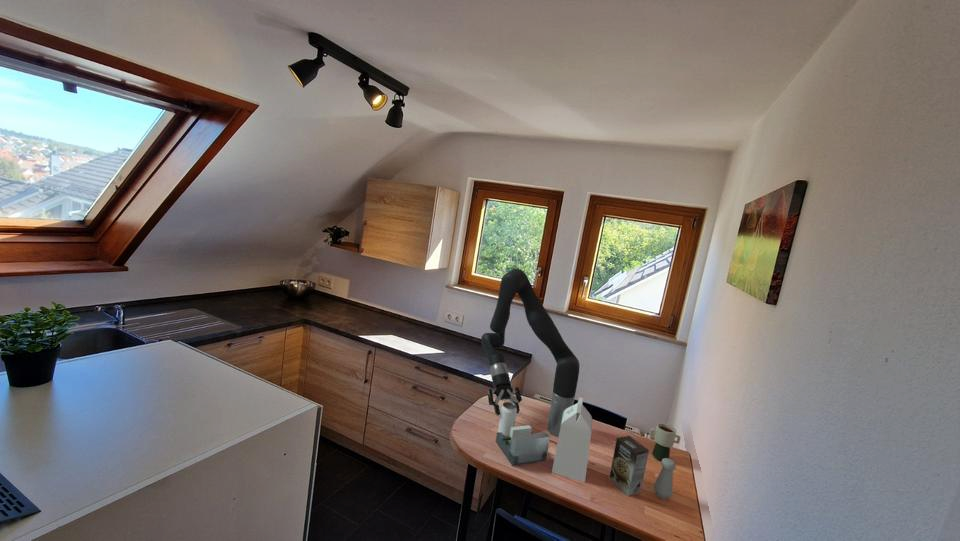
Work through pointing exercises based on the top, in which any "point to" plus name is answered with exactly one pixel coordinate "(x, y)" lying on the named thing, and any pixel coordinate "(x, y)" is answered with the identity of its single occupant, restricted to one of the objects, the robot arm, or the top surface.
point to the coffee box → (628, 465)
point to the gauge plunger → (518, 432)
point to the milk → (573, 443)
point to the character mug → (663, 440)
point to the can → (507, 418)
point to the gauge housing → (524, 448)
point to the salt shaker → (665, 479)
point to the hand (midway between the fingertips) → (508, 414)
